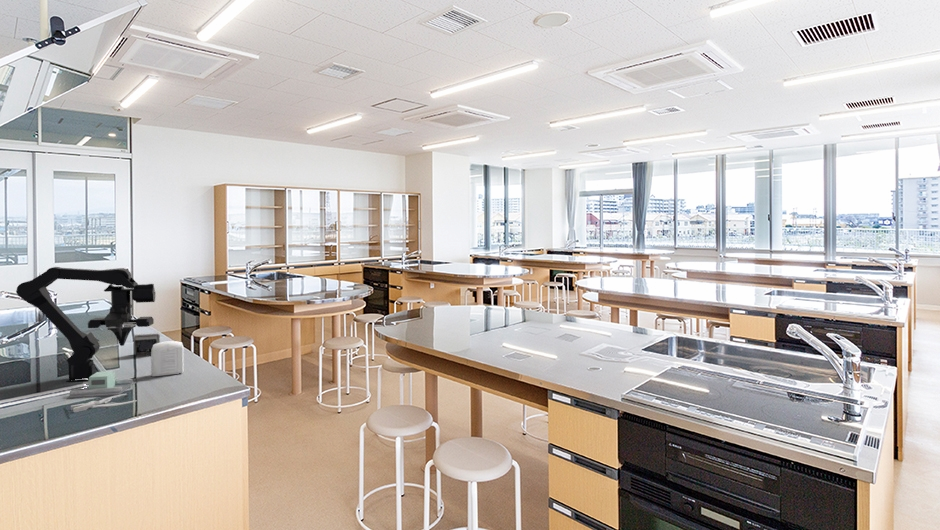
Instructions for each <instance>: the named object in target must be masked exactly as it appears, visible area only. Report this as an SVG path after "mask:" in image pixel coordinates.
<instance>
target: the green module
mask: <svg viewBox="0 0 940 530" xmlns="http://www.w3.org/2000/svg"><path fill="white" fill-rule="evenodd" d="M115 380H116V373H115V370H111V371H109V370H107V371H95V374H93V375H92V376H90V377H89V380H88V381H89V389H91V388H108V387H114V386H115Z"/></svg>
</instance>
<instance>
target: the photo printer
mask: <svg viewBox="0 0 940 530" xmlns="http://www.w3.org/2000/svg"><path fill="white" fill-rule="evenodd" d="M184 353H185V349H184V344H183V342H182V341H181V342H180V341H176V340H167V341H160V343H157V344H154V345H153V347H152V349H151V355H150V357H151V358H150V359H151V363H150V364H151V365H150V369H151V370H150V372H151V374H150V375H151V377H161V376H169V375H177V374H178V375H180V374H179V373H181V374H183V373H184V371H185V370H184V369H185V365H184V363H185V354H184Z"/></svg>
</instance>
